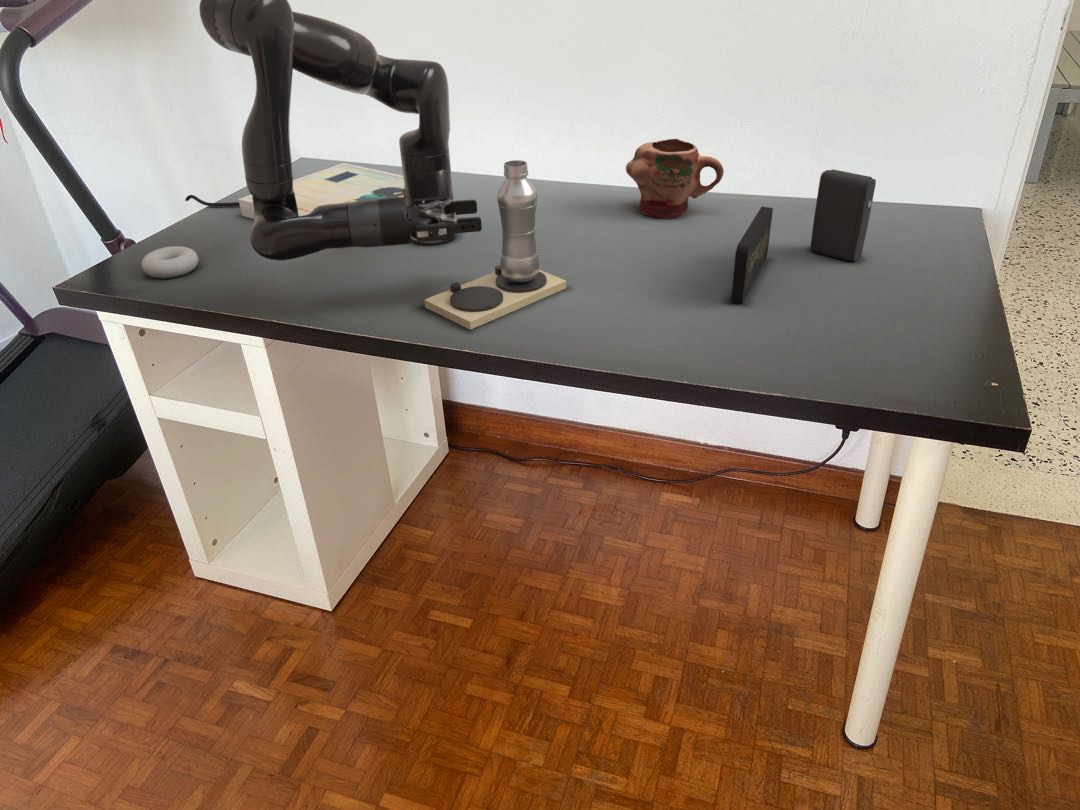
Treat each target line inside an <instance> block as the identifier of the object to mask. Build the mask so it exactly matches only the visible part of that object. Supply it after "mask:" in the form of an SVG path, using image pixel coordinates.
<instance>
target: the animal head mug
mask: <svg viewBox="0 0 1080 810" xmlns="http://www.w3.org/2000/svg"><path fill="white" fill-rule="evenodd" d="M705 168H711V169H713V170H714V172H715V175H716V177H715V179H714V180H713V181H712V182H711V183H709V184H708V185H703V184H701V172H702V170H703V169H705ZM724 170H725V169H724V167H723V165H722V162H721V161H720V160H718V159H717V158H715V157H712V156H707V155H701V154H700V153H699V150H698V148H697V146H696V145H695V144H694V143H691V142H690V141H685V140H681V139H678V138H669V139H661V140H657V141H650V142H645V143H643V144H641V145H640V146H639V147H637V148H636V149H635V151H634V155H633V158H631V160H630V161H628V162H627V163H626V165H625V171H626V172H625V173H626V174H627V175H628V176H629V177H630V178H631V179H632V180H633V181H634V182H635V184H636V186H637V187H638V190H639V192H640V201H639V209H640V212H641V213H643V214H644V215H646V216H649V217H652V218H658V219H677V218H679V217H681V216H683V215H684V214H685V213H686V212H687V211H688V208H689V201H688V200H689V198H692V199H698V197H700V196H702V195H705V194H707V193H708V192H709V191H711V190H712V189H714V188H715V187H716V186H717V185H718V184H719V183H720V182H721V180H722V179H723V176H724V173H725V171H724Z"/></svg>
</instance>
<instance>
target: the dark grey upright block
mask: <svg viewBox="0 0 1080 810" xmlns="http://www.w3.org/2000/svg"><path fill="white" fill-rule="evenodd" d="M876 183H877V180H876V178H873V177H872V176H868V175H864V174H858V173H853V172H848V171H844V170H838V169H833V168H832V169H827V170H824V171H822V172H821V175H820V176H819V183H818V189H817V197H816V203H815V210H814V215H813V223H812V232H811V239H810V240H811V241H810V250H811V251H813V252H814V253H817V254H820V255H824V256H827V257H832V258H836V259H839V260H843V261H846V262H856V261H857V260H859V259H860V258H861V256H862V254H863V250H864V244H865V241H866V235H867V231H868V226H869V222H870V221H869V220H870V217H871V212H872V205H873V200H874V196H875V195H874V194H875V191H876V190H875V189H876Z"/></svg>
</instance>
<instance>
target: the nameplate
mask: <svg viewBox="0 0 1080 810" xmlns="http://www.w3.org/2000/svg"><path fill="white" fill-rule="evenodd" d="M773 210H774V207H768V206H761V207H760V208H759V210H758V211H757V213H756V215H755V216H754V218H753V220H752V221H751V223H750V224H749V226H748V228H747V229H746V230H745V232H744V234H743V235H742V237H741V239H740V240H739V242H738V243H737V246H736V250H735V256H734V257H735V258H734V265H733V276H732V285H731V286H732V287H731V296H730V302H732V303H736V304H744V302H745V301H746V299H747V297H748V295H749V294H750V292H751V289H752V288H753V286H754V284H755V282H756V280H757V278H758V277H759V274H760V272H761V271H762V269H763V267H764V265H765V263H766V261H767V258H768V251H769V245H770V236H771V228H772V220H773V212H774V211H773Z"/></svg>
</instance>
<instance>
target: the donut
mask: <svg viewBox="0 0 1080 810" xmlns="http://www.w3.org/2000/svg"><path fill="white" fill-rule="evenodd" d="M141 260H142V261H141V269H142V271H143V272H144V273H145V274H146V275H148V276H149V277H151V278H155V279H172V278H177V277H182V276H184V275H187V274H188V273H190V272H192V271H193V270H195V268H196V267H197V266H198V263H199V256H198V254H197V252H196V251H195V250H194V249H191V247H187V246H181V245H174V246H166V247H160V248H157V249H155V250H151V252H149V253H147V254H145V255H144V257H143V258H142V259H141Z"/></svg>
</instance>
